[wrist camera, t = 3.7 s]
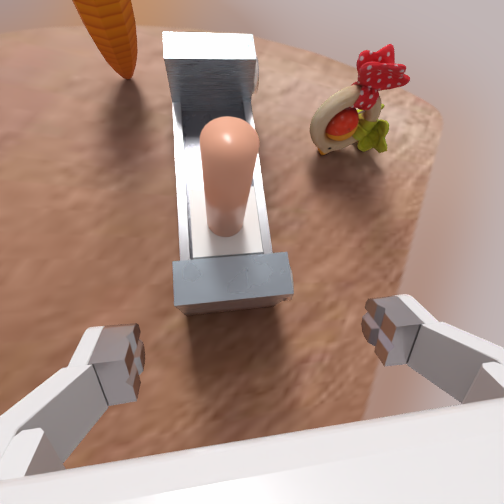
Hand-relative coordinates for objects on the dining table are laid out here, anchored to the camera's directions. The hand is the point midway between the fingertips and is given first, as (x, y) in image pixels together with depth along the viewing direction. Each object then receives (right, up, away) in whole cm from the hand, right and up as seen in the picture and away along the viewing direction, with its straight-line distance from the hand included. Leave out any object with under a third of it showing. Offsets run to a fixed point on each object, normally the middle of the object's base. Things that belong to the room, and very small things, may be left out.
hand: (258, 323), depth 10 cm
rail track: (-4, +9, +20) cm, 22 cm away
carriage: (-3, +4, +16) cm, 17 cm away
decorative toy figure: (+10, +15, +23) cm, 29 cm away
